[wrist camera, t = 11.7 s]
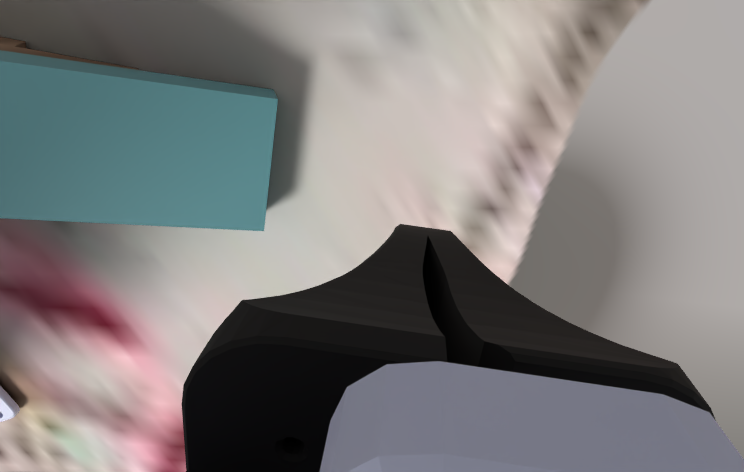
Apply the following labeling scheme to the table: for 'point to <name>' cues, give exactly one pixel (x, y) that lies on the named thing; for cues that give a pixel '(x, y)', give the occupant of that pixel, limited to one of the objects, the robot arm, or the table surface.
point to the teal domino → (131, 146)
